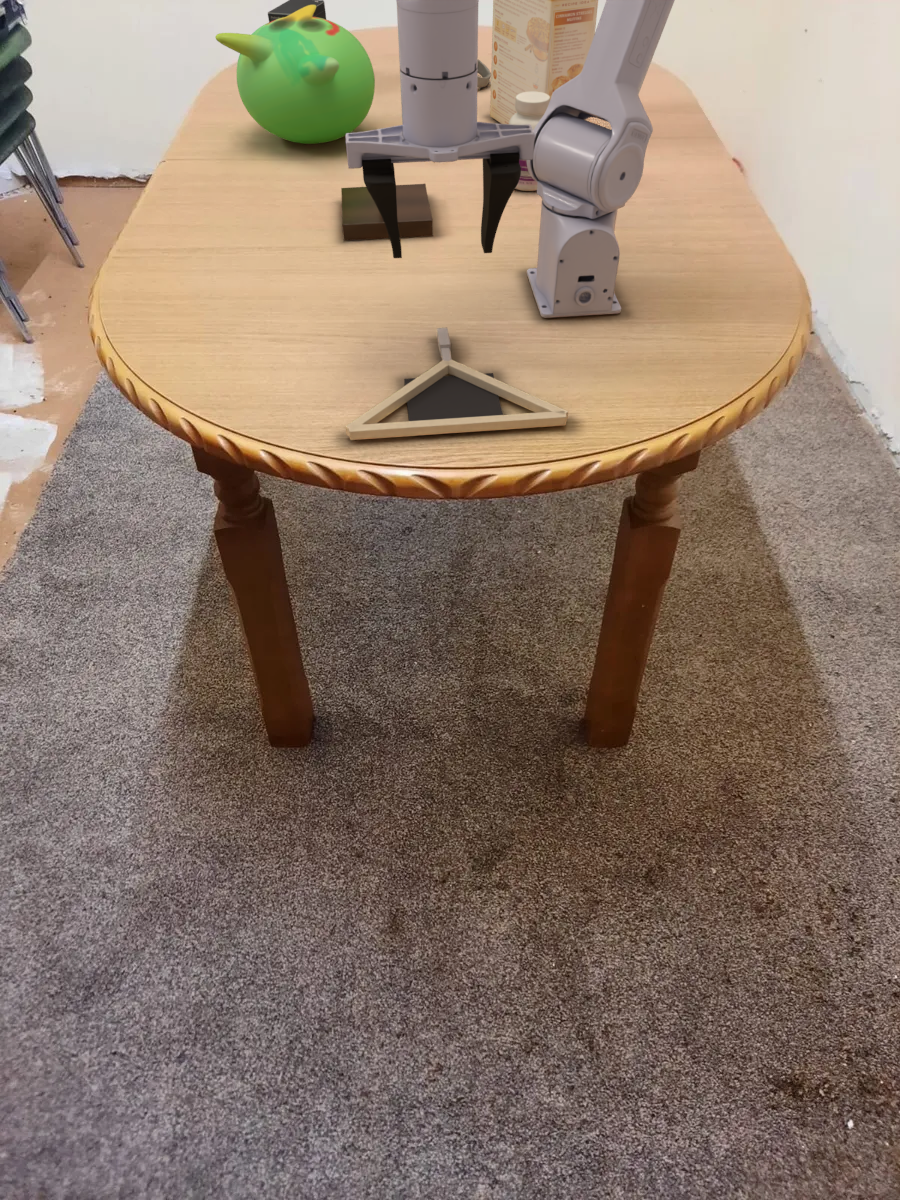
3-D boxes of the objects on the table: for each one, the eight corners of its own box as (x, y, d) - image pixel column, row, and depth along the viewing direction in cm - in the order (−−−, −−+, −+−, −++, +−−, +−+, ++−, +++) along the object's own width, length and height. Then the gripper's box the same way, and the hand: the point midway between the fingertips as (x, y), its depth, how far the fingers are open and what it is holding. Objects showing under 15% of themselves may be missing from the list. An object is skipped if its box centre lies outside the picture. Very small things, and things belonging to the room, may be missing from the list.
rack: (432, 236, 93) (431, 190, 89) (344, 240, 92) (339, 194, 89) (425, 199, 100) (424, 154, 96) (342, 203, 99) (338, 159, 95)
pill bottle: (546, 193, 100) (553, 105, 93) (503, 190, 101) (506, 103, 94) (551, 176, 104) (558, 90, 96) (510, 173, 104) (513, 87, 97)
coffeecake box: (585, 143, 111) (604, -37, 96) (539, 152, 109) (552, -30, 94) (531, 108, 120) (541, -61, 105) (487, 116, 118) (492, -55, 103)
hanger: (539, 332, 78) (540, 321, 78) (569, 425, 69) (570, 413, 68) (343, 345, 77) (342, 333, 76) (346, 440, 68) (344, 428, 67)
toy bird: (393, 124, 116) (386, -2, 105) (352, 170, 106) (339, 35, 95) (275, 113, 120) (257, -10, 109) (224, 156, 109) (198, 25, 98)
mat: (505, 429, 69) (505, 426, 69) (410, 435, 68) (410, 432, 68) (492, 375, 74) (493, 372, 74) (404, 381, 74) (404, 378, 73)
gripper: (339, 90, 57) (358, 277, 67) (546, 81, 58) (533, 267, 68) (338, 59, 62) (356, 238, 72) (530, 51, 63) (520, 229, 73)
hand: (441, 250), depth 70 cm, fingers open, 7 cm apart
